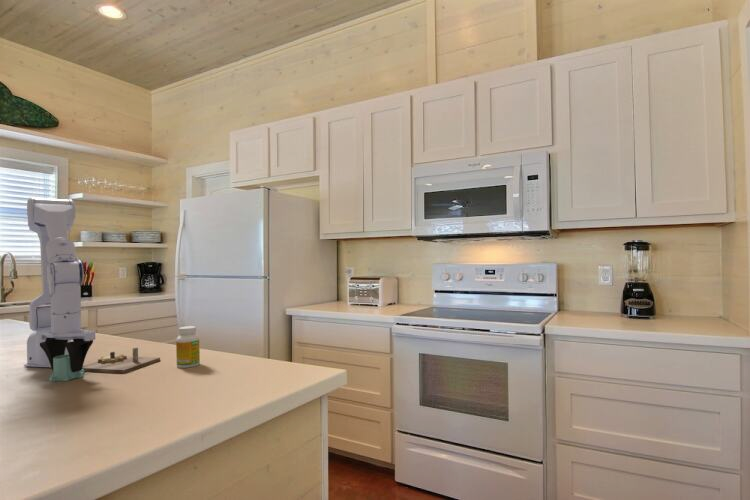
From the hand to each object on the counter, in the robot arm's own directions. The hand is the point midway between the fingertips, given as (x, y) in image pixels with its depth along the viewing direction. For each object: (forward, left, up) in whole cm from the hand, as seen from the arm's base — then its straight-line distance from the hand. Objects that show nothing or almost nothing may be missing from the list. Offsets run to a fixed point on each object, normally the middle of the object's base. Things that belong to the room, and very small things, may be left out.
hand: (67, 370), depth 99 cm
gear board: (+4, +11, -2) cm, 12 cm away
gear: (0, 0, -2) cm, 2 cm away
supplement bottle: (+22, +14, -2) cm, 26 cm away
